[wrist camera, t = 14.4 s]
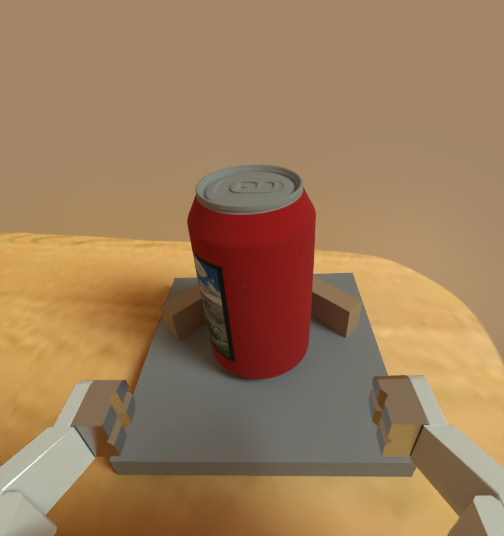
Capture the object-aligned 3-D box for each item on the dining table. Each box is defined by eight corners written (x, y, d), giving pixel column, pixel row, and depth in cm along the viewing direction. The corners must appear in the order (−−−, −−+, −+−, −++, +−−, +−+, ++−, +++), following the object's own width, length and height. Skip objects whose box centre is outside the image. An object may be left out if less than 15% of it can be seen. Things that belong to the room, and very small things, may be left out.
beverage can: (223, 310, 27) (200, 161, 20) (309, 314, 26) (316, 159, 19) (202, 383, 22) (160, 213, 15) (309, 391, 21) (319, 214, 14)
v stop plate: (411, 476, 18) (430, 437, 16) (117, 474, 19) (93, 437, 17) (350, 286, 31) (355, 249, 29) (177, 290, 32) (169, 255, 30)
